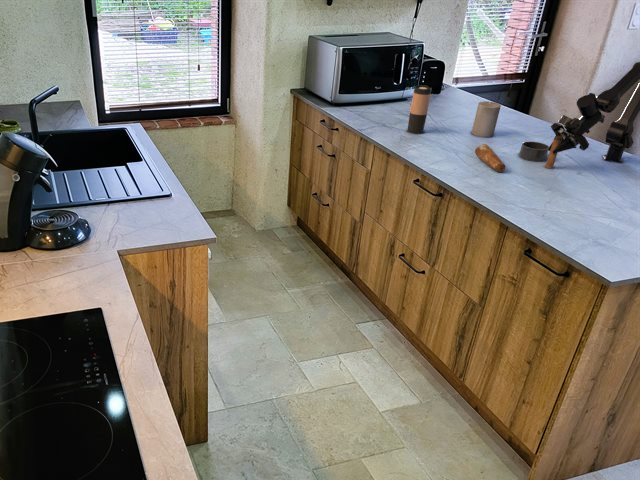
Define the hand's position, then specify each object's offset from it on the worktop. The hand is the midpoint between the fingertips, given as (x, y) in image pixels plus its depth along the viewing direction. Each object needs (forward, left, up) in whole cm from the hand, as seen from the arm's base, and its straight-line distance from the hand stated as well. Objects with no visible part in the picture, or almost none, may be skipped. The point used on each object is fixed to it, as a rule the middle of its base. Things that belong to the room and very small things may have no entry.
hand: (550, 151), depth 234 cm
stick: (-1, +1, -7) cm, 7 cm away
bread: (+7, -20, -7) cm, 23 cm away
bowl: (-11, -5, -7) cm, 14 cm away
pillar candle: (-34, -27, -7) cm, 44 cm away
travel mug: (-24, -56, -7) cm, 62 cm away
